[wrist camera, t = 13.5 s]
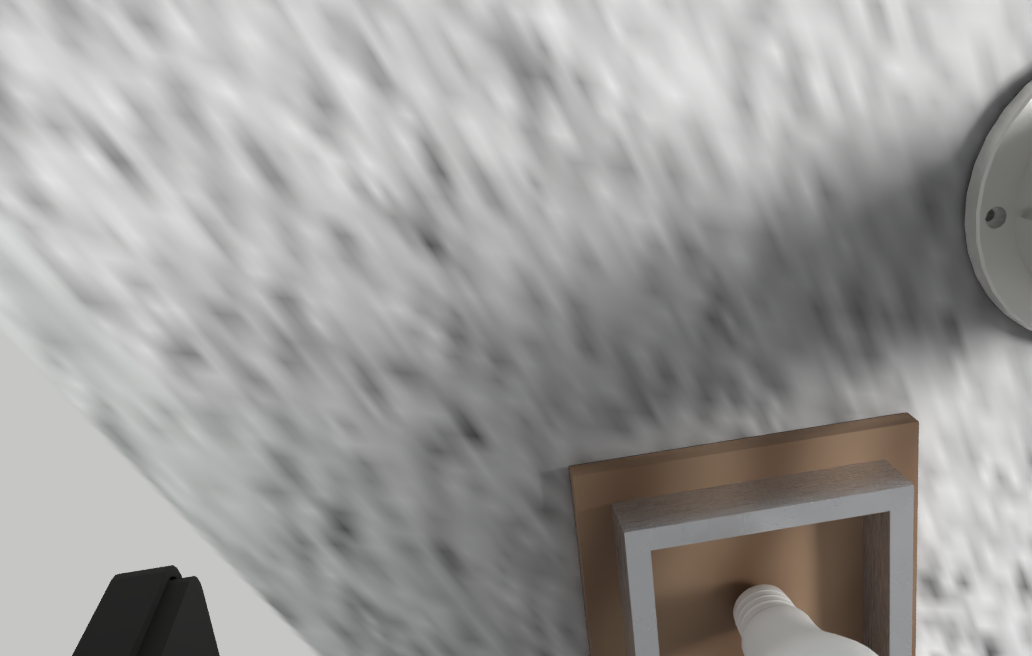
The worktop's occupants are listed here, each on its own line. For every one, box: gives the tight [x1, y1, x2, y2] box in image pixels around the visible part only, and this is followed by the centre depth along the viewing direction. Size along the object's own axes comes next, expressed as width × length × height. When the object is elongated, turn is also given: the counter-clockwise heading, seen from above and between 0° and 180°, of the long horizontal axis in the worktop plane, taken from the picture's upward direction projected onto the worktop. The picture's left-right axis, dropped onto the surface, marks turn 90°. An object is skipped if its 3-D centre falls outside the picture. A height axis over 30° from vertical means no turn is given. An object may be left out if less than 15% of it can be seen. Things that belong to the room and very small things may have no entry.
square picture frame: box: [611, 459, 914, 656], centre depth 42 cm, size 12×12×2 cm
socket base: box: [569, 413, 919, 656], centre depth 44 cm, size 15×15×1 cm
